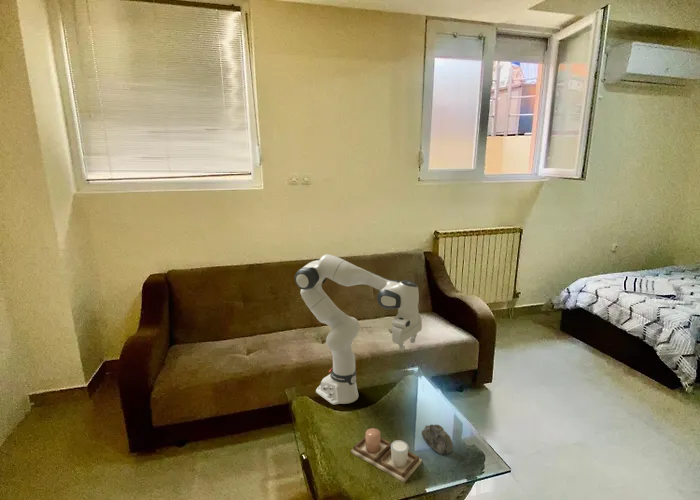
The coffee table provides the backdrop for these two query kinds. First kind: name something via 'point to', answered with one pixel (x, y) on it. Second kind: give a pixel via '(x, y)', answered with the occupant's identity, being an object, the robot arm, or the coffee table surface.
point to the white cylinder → (399, 453)
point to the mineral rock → (437, 439)
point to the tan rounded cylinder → (373, 440)
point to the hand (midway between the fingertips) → (407, 346)
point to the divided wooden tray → (387, 459)
